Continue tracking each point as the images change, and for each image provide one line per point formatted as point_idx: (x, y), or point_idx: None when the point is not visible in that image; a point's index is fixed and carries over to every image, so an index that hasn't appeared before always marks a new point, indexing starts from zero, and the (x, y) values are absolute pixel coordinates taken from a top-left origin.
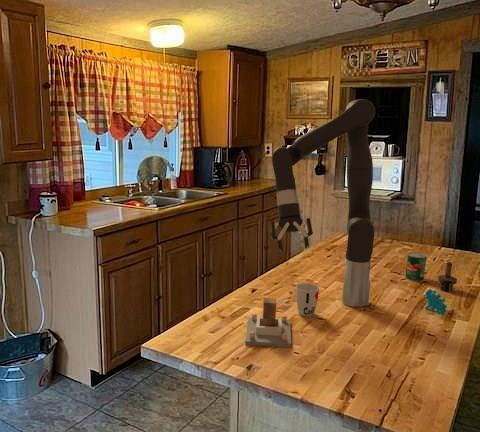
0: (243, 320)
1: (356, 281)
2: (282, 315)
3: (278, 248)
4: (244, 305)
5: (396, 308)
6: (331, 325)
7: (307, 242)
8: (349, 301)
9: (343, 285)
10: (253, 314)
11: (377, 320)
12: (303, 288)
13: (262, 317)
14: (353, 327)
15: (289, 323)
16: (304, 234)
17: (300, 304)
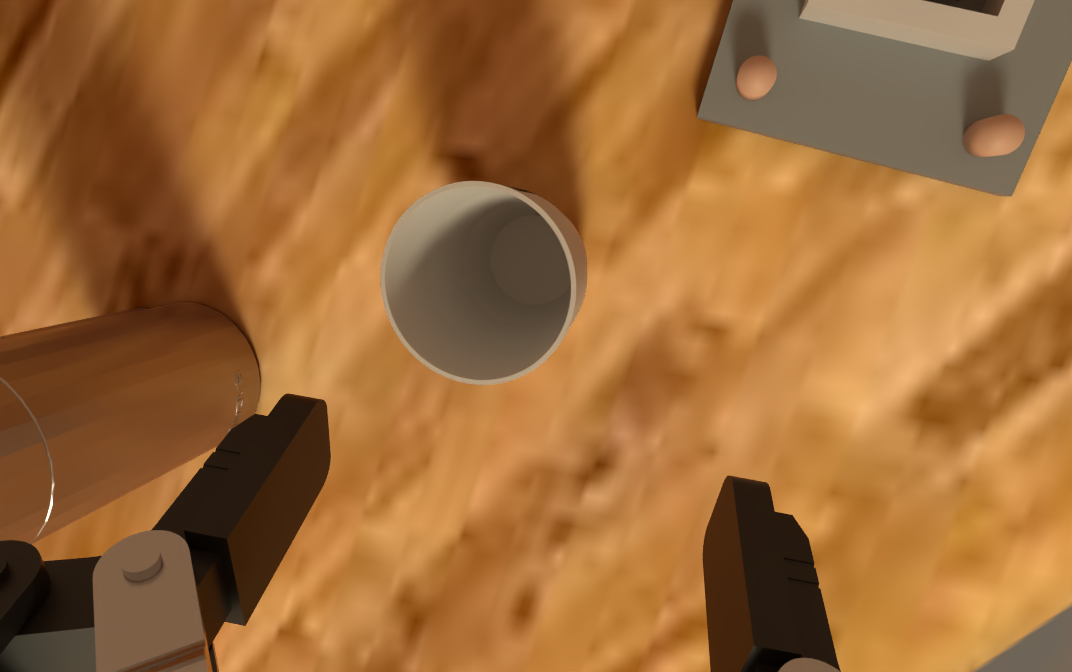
0: (1041, 204)
1: (72, 343)
2: (766, 91)
3: (797, 549)
4: (932, 471)
5: (7, 256)
6: (431, 52)
7: (225, 464)
8: (220, 335)
9: (183, 434)
10: (1011, 135)
11: (148, 101)
12: (494, 366)
13: (969, 30)
14: (309, 9)
15: (722, 48)
16: (163, 594)
17: (574, 227)
